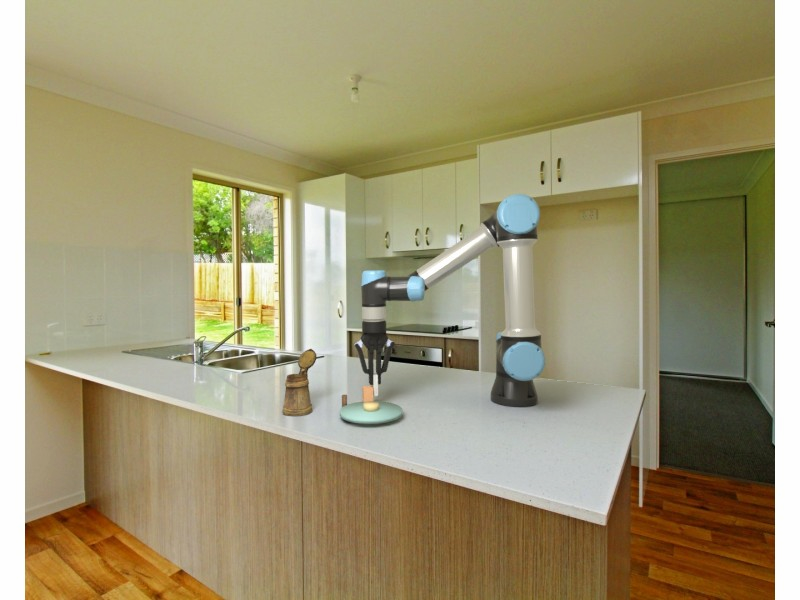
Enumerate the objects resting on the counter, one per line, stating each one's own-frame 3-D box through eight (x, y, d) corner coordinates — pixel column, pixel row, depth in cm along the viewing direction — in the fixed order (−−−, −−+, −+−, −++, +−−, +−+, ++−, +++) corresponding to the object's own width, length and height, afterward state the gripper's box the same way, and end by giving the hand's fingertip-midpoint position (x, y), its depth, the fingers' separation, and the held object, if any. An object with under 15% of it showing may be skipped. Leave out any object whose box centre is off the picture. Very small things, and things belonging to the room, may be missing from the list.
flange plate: (395, 401, 139) (395, 384, 139) (407, 421, 118) (407, 403, 118) (338, 403, 136) (338, 387, 136) (340, 425, 115) (340, 406, 115)
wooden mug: (324, 405, 139) (324, 349, 138) (303, 417, 126) (302, 356, 125) (299, 402, 142) (299, 347, 141) (276, 414, 129) (275, 354, 128)
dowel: (347, 410, 132) (347, 394, 132) (346, 412, 131) (346, 396, 131) (342, 410, 133) (342, 394, 133) (341, 412, 131) (341, 395, 131)
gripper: (391, 318, 140) (391, 390, 142) (351, 319, 137) (352, 393, 138) (397, 320, 133) (397, 396, 134) (355, 322, 130) (356, 399, 131)
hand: (375, 394), depth 136 cm, fingers closed
